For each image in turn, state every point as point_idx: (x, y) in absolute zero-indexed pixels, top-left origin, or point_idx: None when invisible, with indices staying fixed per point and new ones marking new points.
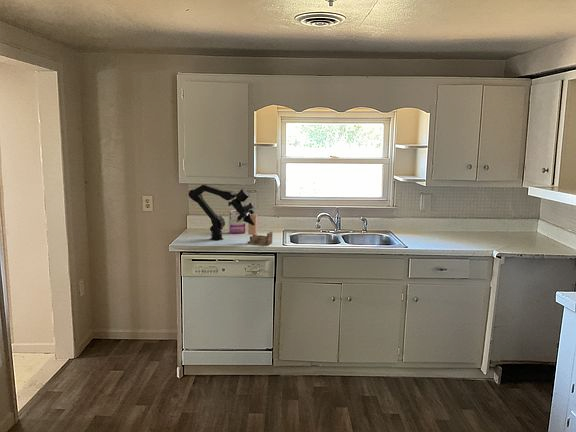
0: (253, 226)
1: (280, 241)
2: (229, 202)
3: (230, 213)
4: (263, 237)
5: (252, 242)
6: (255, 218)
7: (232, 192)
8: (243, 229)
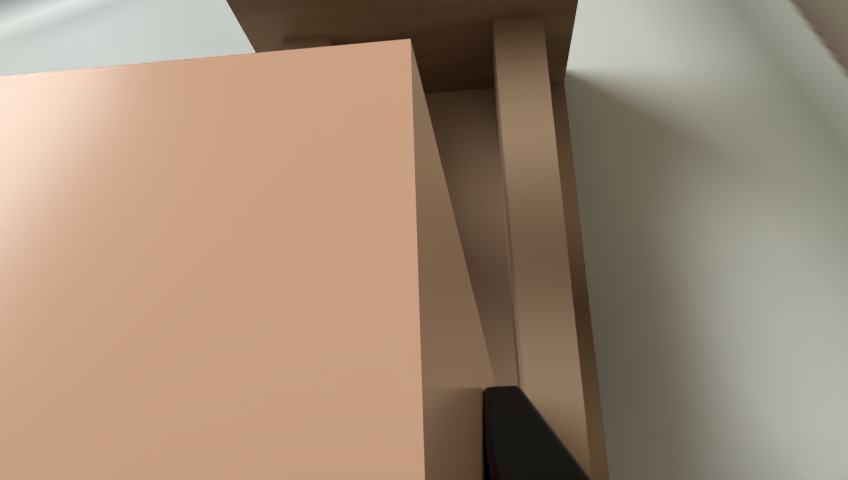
0: None
1: (87, 12)
2: None
3: None
4: (517, 128)
5: (602, 435)
6: (453, 242)
7: None
8: None
